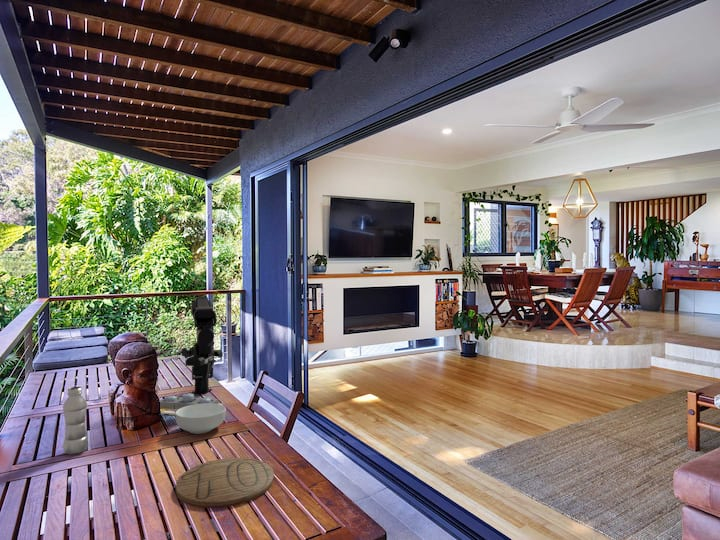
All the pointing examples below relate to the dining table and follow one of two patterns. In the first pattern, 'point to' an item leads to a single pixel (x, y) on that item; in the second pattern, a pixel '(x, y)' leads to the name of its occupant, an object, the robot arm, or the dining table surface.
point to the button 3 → (205, 400)
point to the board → (178, 405)
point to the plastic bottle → (75, 422)
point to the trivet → (224, 482)
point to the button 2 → (188, 398)
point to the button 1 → (171, 398)
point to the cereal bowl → (200, 417)
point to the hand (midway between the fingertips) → (205, 379)
